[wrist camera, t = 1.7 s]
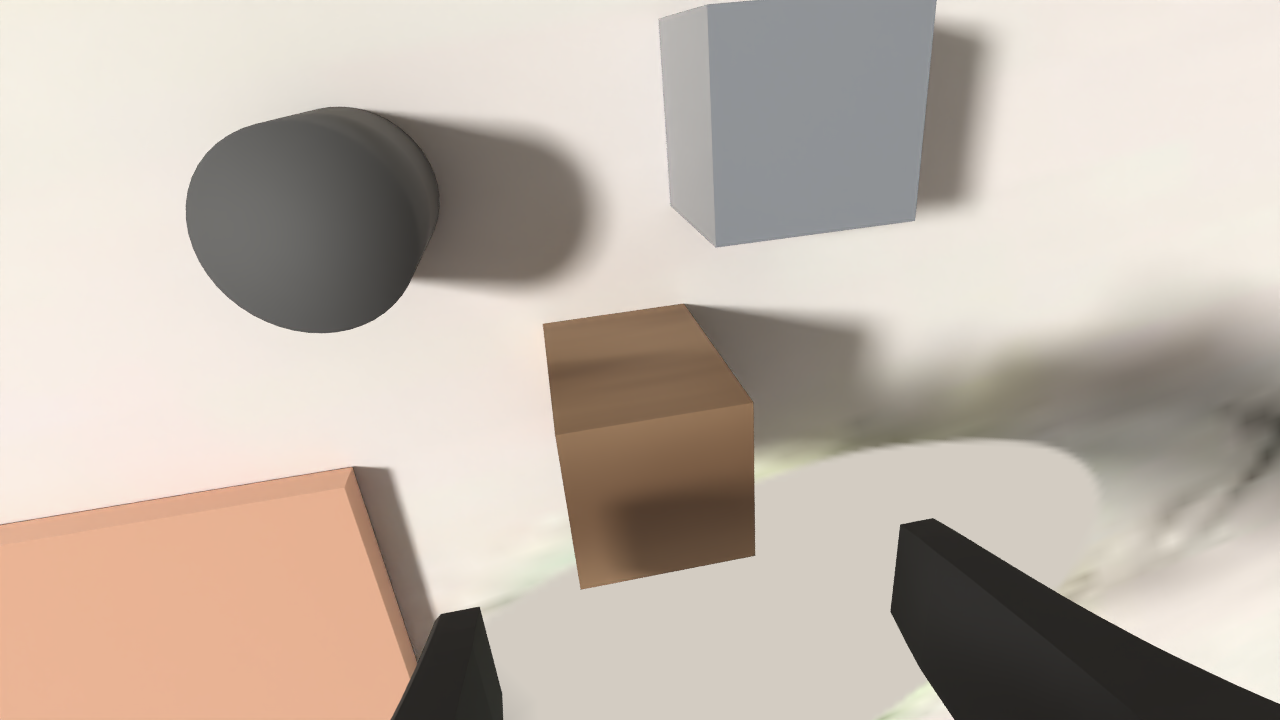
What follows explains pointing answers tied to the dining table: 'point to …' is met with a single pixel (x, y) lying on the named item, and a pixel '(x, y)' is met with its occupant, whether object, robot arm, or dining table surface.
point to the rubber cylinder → (313, 217)
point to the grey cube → (795, 115)
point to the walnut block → (650, 445)
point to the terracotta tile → (204, 609)
